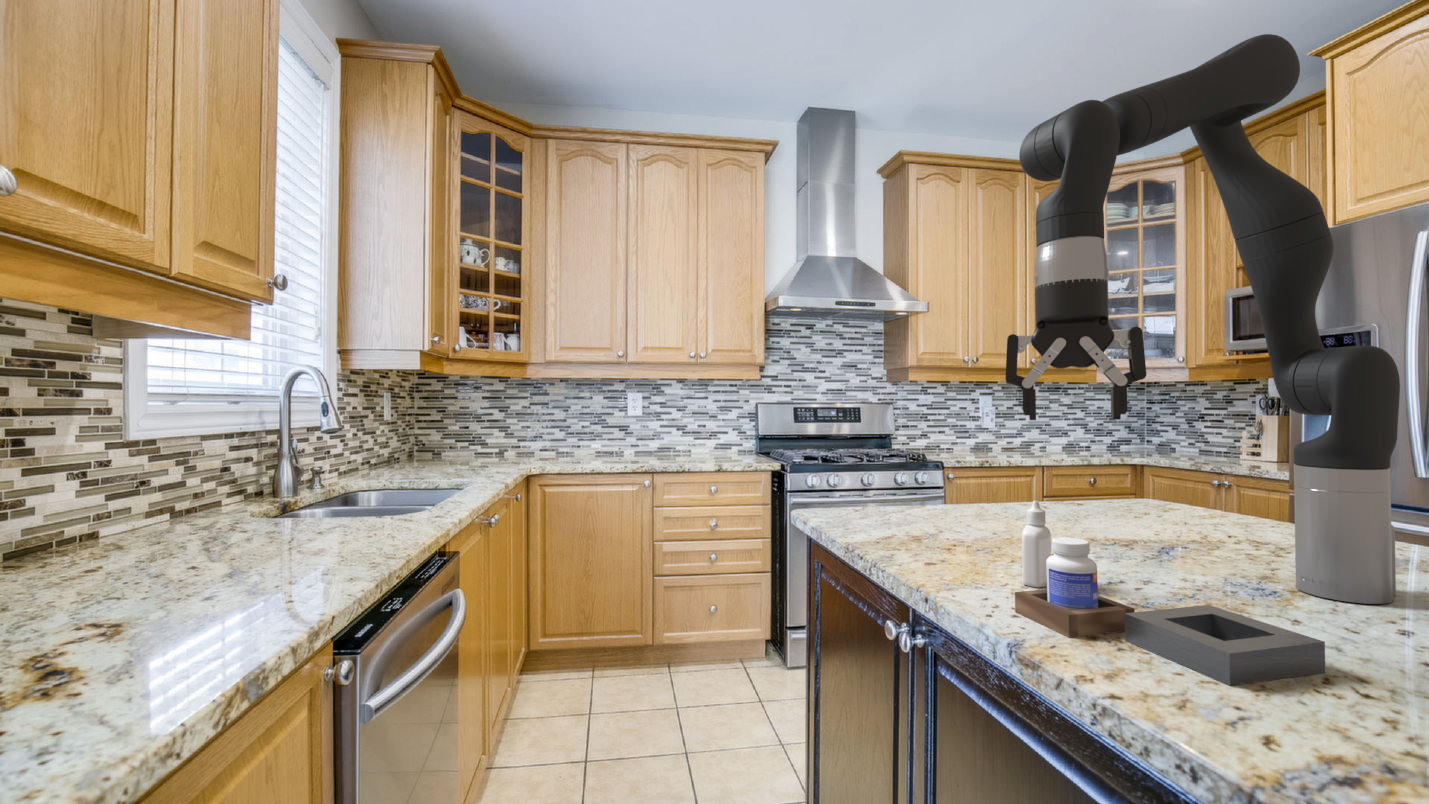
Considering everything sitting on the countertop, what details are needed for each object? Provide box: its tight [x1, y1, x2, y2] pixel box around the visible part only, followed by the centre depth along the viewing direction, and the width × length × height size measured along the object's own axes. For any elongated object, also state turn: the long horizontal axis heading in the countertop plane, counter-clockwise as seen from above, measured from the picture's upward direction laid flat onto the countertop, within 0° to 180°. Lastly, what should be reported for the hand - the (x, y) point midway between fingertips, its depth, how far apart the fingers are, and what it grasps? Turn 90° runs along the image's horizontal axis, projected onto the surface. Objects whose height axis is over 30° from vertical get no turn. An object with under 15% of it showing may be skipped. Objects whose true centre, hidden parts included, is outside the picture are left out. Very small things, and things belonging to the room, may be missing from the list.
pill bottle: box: [1046, 537, 1099, 611], centre depth 76 cm, size 5×5×10 cm
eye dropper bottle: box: [1021, 500, 1052, 588], centre depth 92 cm, size 4×6×12 cm
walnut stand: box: [1014, 588, 1136, 638], centre depth 76 cm, size 9×9×2 cm
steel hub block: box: [1124, 604, 1326, 686], centre depth 65 cm, size 12×12×3 cm
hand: (1073, 419), depth 74 cm, fingers open, 8 cm apart
